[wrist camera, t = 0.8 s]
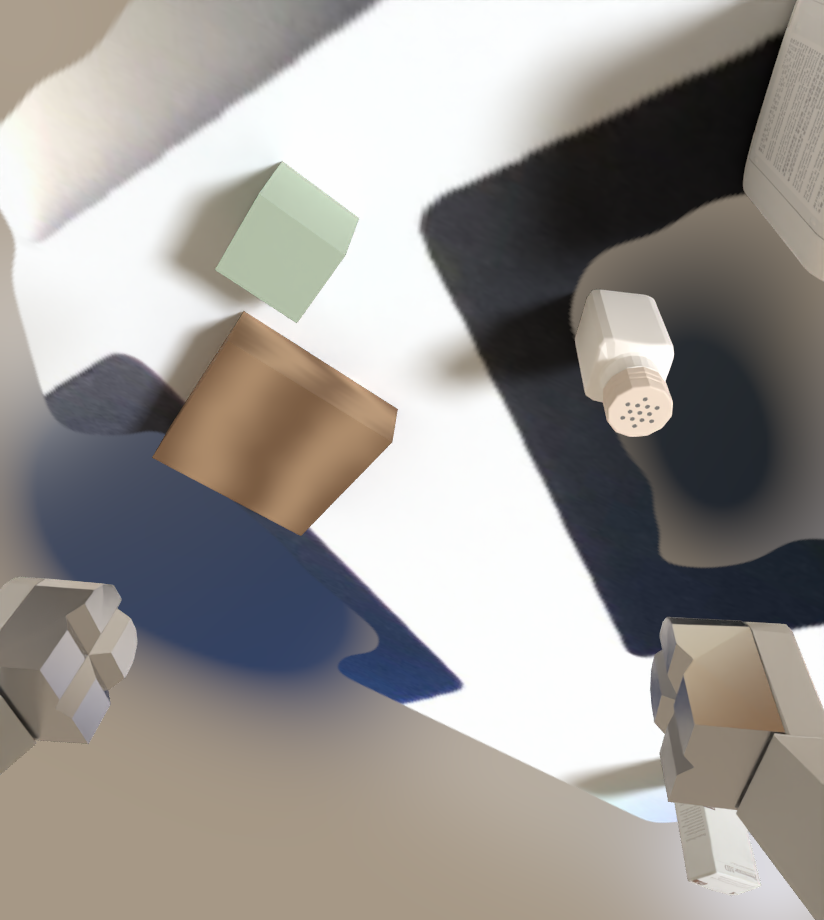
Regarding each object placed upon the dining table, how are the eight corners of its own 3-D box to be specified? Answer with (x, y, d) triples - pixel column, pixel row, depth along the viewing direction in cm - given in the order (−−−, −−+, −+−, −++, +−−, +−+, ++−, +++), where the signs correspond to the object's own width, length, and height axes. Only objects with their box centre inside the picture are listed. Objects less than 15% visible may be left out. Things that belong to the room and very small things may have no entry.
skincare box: (733, 765, 75) (767, 887, 66) (704, 779, 78) (733, 898, 69) (690, 749, 74) (719, 872, 65) (663, 764, 77) (687, 884, 67)
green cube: (241, 231, 39) (214, 269, 35) (282, 160, 36) (258, 193, 32) (314, 281, 40) (296, 323, 37) (359, 217, 38) (345, 255, 34)
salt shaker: (634, 350, 42) (666, 448, 34) (571, 342, 42) (589, 438, 34) (656, 292, 39) (694, 384, 32) (588, 283, 39) (611, 374, 32)
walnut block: (172, 422, 49) (152, 457, 46) (245, 308, 42) (227, 340, 39) (311, 498, 53) (300, 535, 50) (398, 405, 46) (392, 442, 43)
